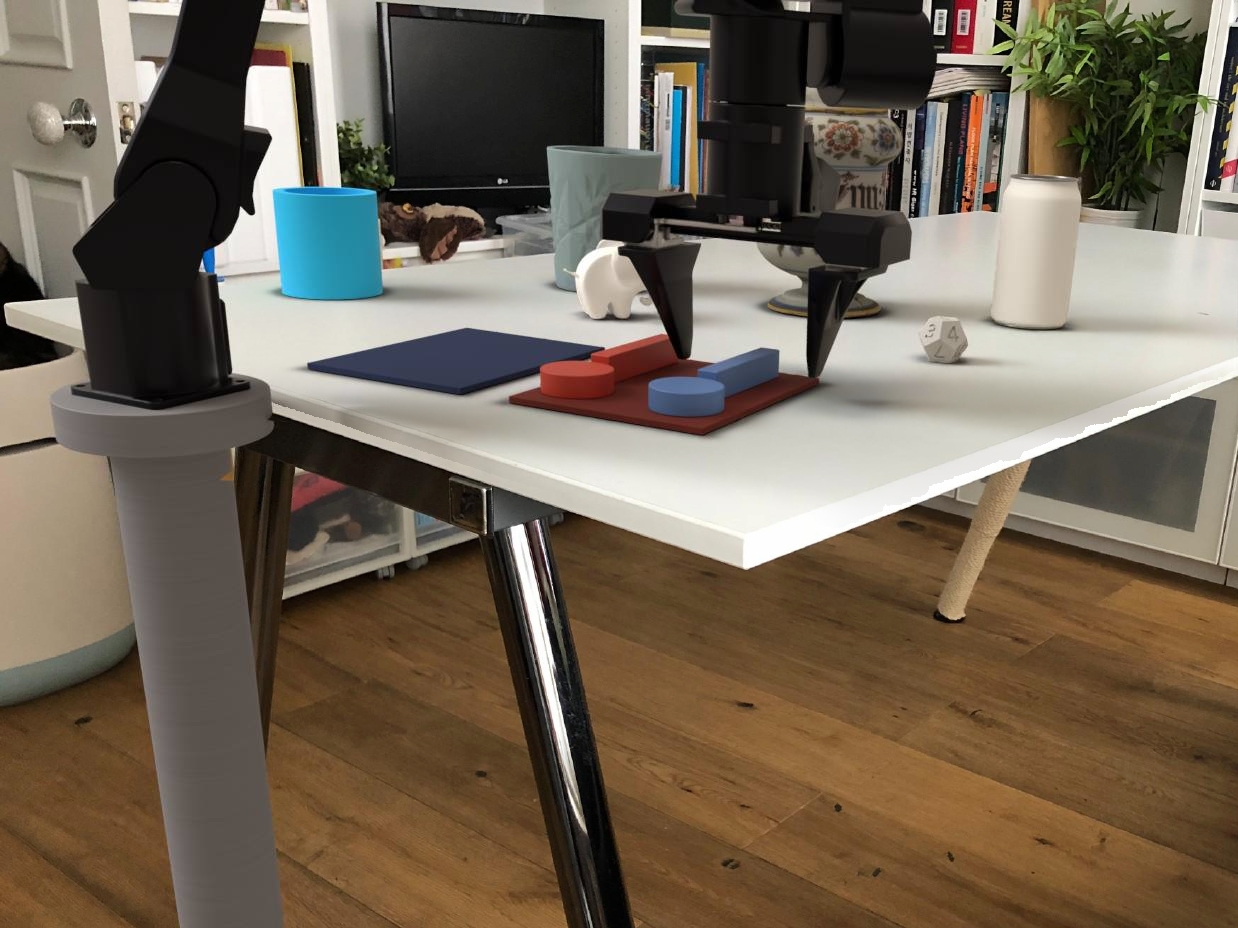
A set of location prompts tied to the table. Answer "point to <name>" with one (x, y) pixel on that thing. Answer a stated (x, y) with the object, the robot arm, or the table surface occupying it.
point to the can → (1036, 251)
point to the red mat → (633, 408)
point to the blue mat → (455, 360)
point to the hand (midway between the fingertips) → (748, 368)
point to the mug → (328, 242)
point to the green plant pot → (590, 196)
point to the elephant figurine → (608, 282)
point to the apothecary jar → (861, 158)
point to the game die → (943, 339)
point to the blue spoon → (712, 384)
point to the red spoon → (606, 368)
